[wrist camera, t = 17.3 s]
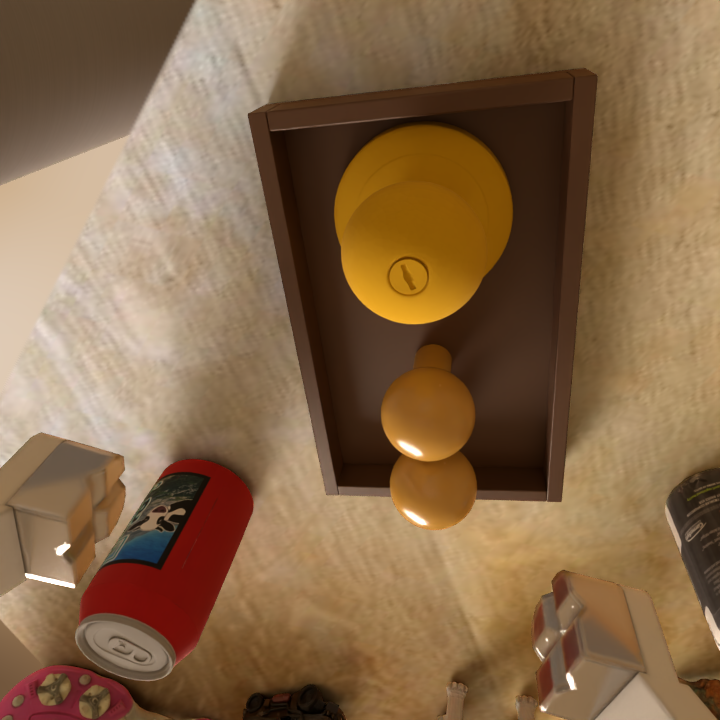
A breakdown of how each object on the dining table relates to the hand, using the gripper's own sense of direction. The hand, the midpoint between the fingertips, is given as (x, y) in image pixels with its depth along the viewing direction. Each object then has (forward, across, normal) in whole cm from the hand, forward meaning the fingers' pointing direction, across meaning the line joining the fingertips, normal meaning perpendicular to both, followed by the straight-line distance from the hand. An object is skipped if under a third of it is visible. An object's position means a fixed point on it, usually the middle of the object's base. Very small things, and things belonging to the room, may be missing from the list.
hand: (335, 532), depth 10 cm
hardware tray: (+20, -2, +5) cm, 21 cm away
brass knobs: (+19, -4, +10) cm, 22 cm away
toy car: (+20, -1, +49) cm, 53 cm away
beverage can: (+20, +8, +23) cm, 31 cm away
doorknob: (+15, +2, -3) cm, 16 cm away
